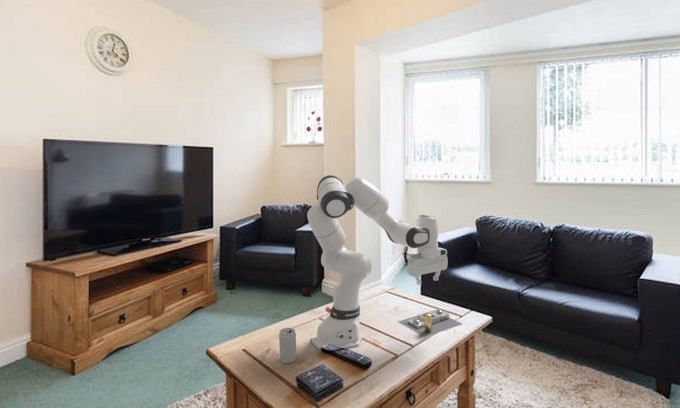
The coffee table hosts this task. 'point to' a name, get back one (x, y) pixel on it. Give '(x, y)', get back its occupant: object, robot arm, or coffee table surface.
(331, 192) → the robot arm
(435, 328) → the gray base plate
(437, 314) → the slotted latch plate
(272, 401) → the coffee table surface
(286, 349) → the beverage can
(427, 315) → the brass pin
